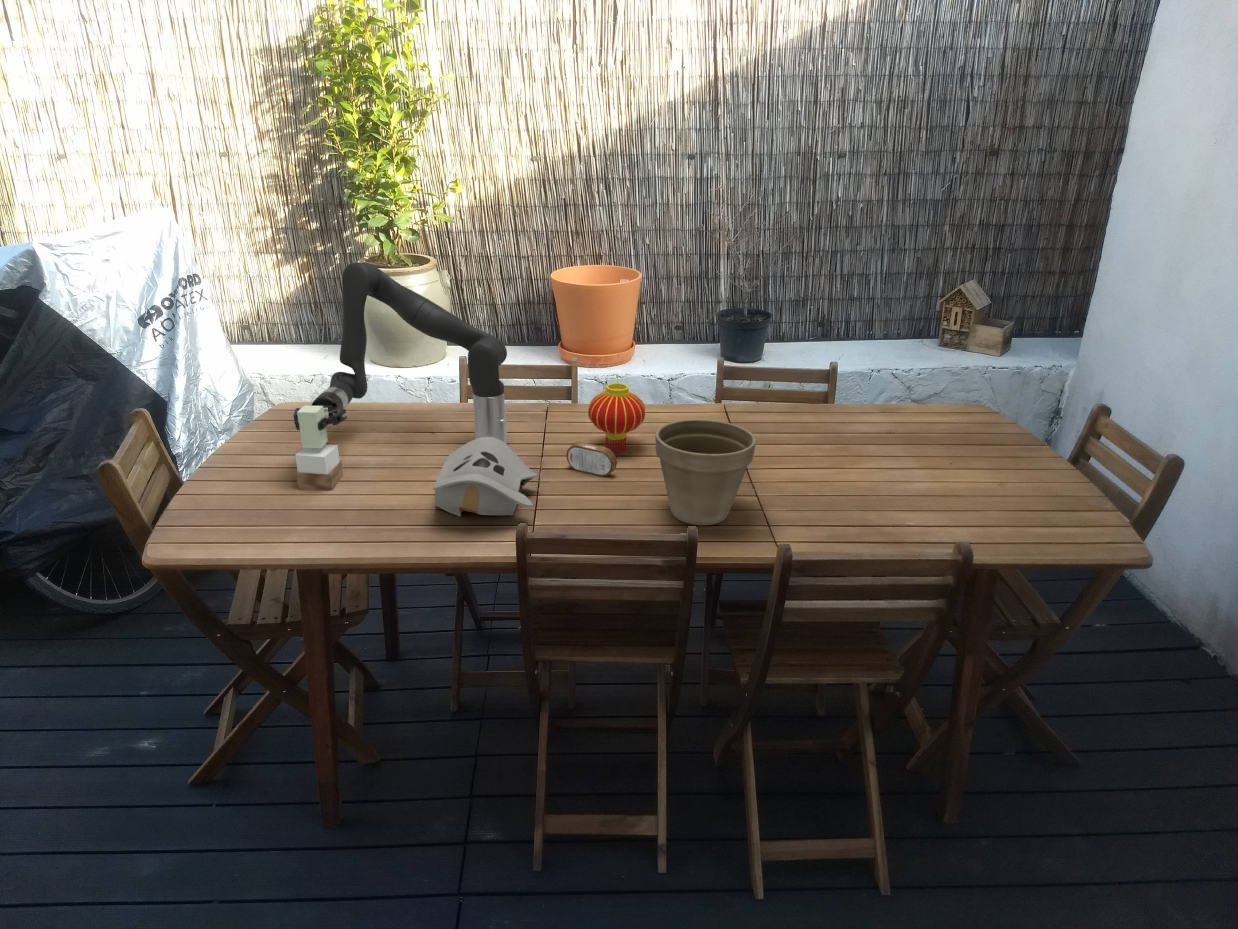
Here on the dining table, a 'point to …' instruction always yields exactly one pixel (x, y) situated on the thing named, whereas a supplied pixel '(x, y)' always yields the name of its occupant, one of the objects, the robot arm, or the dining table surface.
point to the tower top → (317, 459)
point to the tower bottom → (320, 479)
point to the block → (311, 427)
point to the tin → (591, 459)
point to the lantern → (616, 413)
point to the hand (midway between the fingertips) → (308, 426)
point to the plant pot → (703, 467)
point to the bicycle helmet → (482, 479)
